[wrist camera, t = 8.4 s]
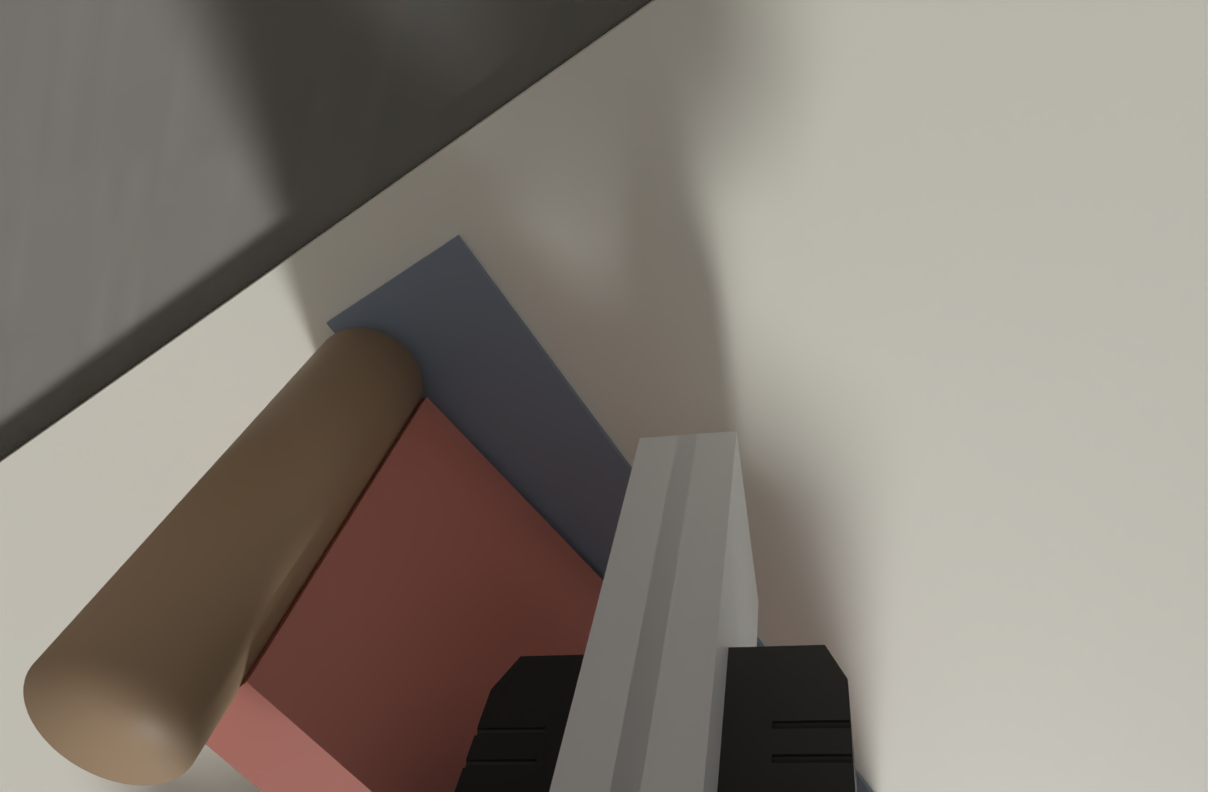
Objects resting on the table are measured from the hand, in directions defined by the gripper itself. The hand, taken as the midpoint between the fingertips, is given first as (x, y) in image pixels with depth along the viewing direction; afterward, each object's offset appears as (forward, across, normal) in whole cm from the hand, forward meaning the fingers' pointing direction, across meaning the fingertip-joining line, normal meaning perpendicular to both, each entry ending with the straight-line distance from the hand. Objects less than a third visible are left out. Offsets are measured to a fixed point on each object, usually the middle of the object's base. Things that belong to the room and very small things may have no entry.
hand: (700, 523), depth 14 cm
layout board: (+2, -2, -4) cm, 5 cm away
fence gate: (+1, -2, -2) cm, 3 cm away
